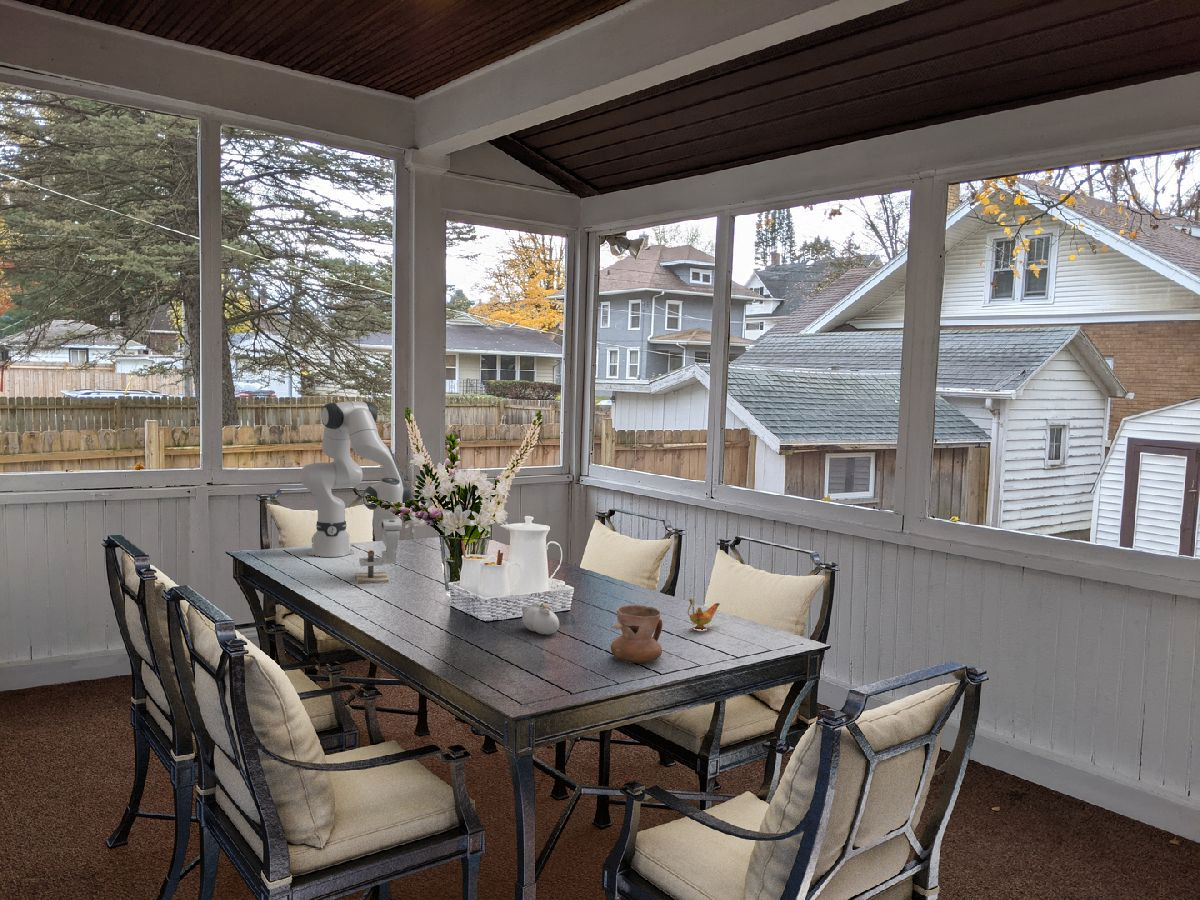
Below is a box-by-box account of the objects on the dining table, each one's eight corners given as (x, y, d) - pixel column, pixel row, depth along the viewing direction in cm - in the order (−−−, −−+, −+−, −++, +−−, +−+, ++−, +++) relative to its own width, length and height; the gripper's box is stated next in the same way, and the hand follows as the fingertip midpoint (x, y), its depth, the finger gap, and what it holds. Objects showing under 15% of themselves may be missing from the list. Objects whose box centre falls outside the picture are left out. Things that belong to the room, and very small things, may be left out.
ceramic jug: (630, 671, 241) (633, 620, 240) (596, 656, 252) (599, 607, 251) (677, 661, 253) (681, 612, 251) (643, 647, 264) (646, 600, 263)
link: (359, 561, 337) (359, 550, 336) (394, 560, 341) (394, 549, 341) (360, 566, 329) (361, 554, 329) (396, 564, 333) (397, 553, 333)
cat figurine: (561, 606, 270) (527, 591, 280) (543, 623, 266) (509, 608, 275) (569, 628, 275) (535, 613, 285) (551, 646, 271) (518, 630, 280)
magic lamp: (727, 625, 290) (729, 592, 289) (695, 636, 277) (697, 601, 276) (709, 621, 295) (711, 588, 294) (677, 631, 281) (679, 597, 280)
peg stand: (355, 575, 341) (355, 546, 340) (384, 574, 344) (385, 545, 343) (357, 583, 328) (358, 553, 327) (388, 582, 332) (388, 552, 331)
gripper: (378, 517, 344) (378, 553, 345) (384, 526, 325) (383, 563, 326) (395, 517, 346) (395, 552, 347) (401, 525, 327) (401, 563, 328)
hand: (389, 558), depth 336 cm, fingers closed on link, 2 cm apart
